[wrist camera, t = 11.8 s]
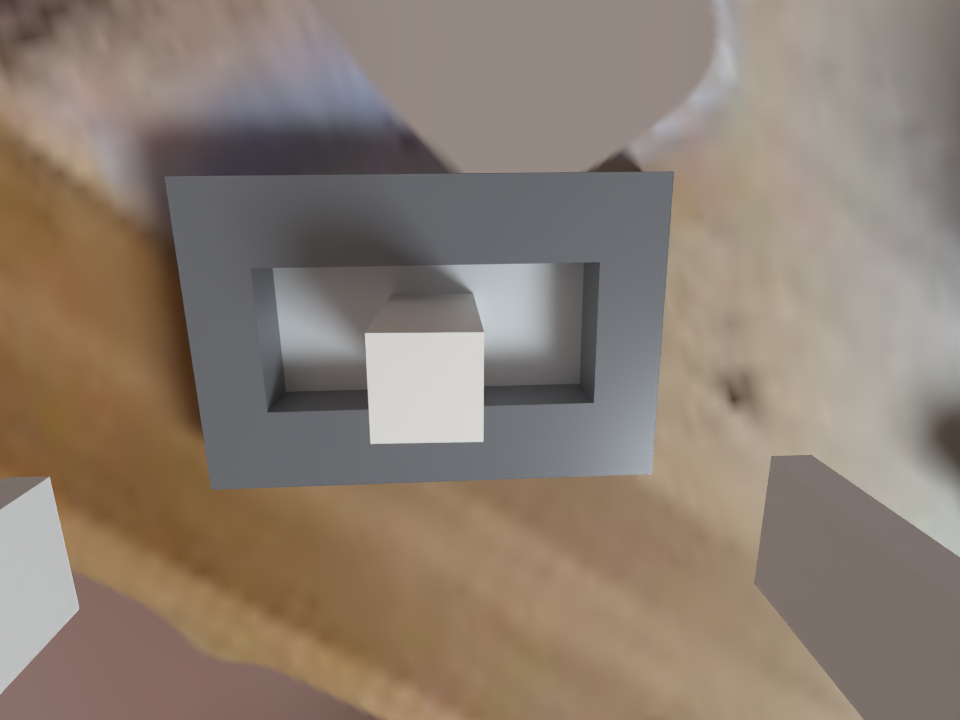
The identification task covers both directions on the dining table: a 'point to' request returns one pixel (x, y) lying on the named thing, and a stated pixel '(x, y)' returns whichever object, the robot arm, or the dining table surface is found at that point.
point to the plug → (426, 370)
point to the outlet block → (423, 270)
